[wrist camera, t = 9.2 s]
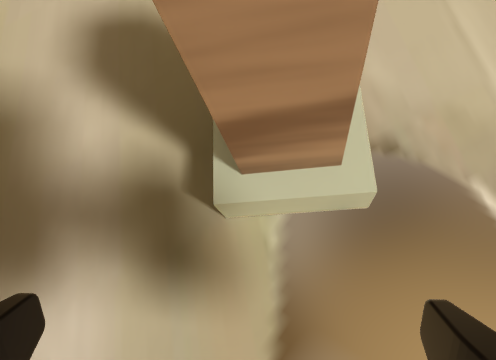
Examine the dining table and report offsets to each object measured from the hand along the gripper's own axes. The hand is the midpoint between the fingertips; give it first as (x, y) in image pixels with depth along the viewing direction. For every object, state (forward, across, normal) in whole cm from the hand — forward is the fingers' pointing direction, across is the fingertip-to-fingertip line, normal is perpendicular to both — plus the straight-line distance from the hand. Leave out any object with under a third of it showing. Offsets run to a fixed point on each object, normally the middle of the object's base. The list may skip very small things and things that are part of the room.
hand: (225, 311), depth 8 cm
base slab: (+14, -2, 0) cm, 15 cm away
